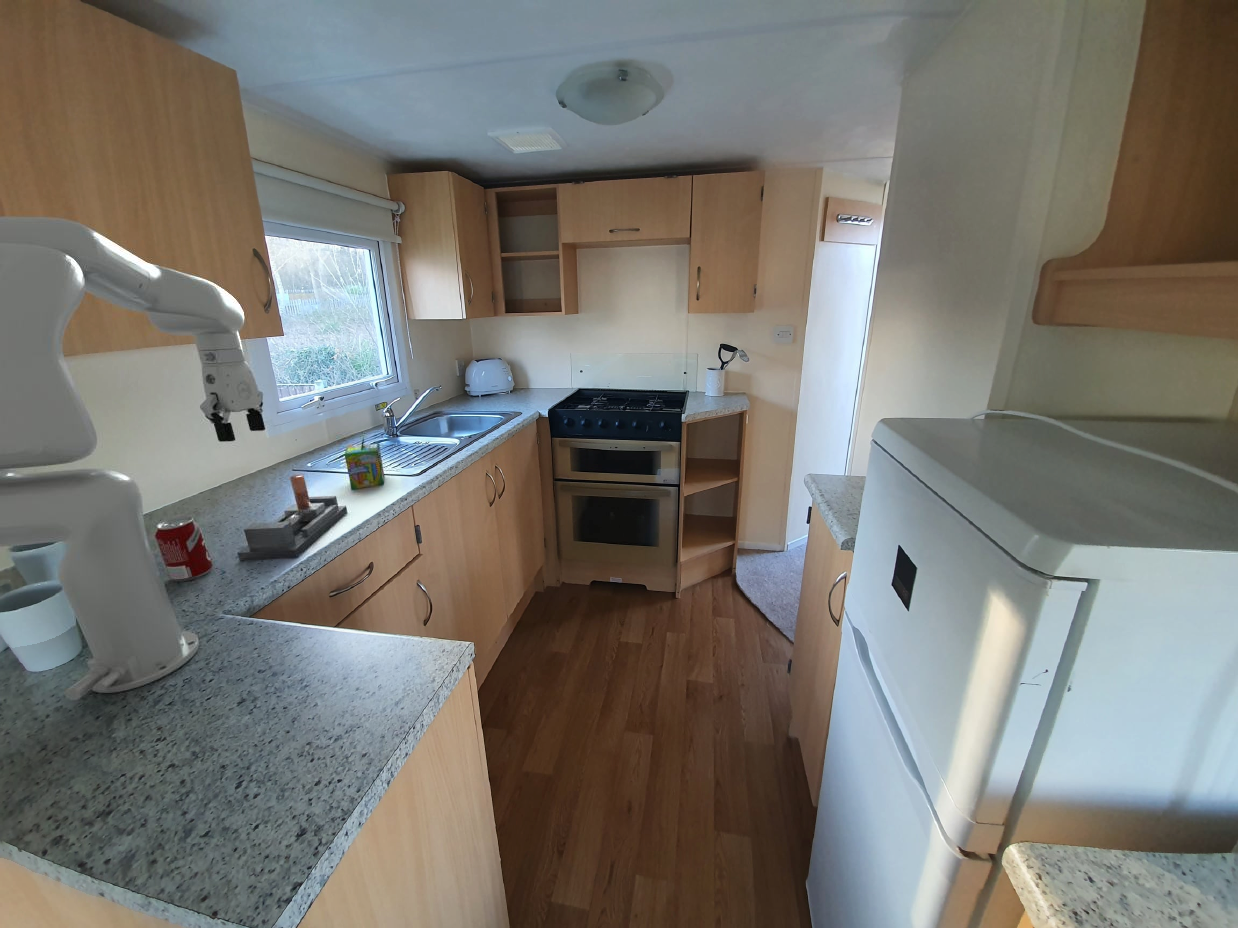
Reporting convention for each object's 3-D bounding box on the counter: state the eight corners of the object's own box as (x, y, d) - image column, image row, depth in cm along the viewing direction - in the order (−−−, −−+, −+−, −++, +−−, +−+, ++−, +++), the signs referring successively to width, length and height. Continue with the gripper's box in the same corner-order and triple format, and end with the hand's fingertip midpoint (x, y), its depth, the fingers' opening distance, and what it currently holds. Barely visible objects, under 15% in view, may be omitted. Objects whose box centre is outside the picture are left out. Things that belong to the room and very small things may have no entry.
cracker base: (296, 558, 105) (289, 529, 103) (239, 560, 105) (230, 531, 102) (347, 512, 128) (342, 488, 126) (300, 514, 127) (294, 490, 125)
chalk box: (353, 480, 152) (344, 435, 147) (385, 476, 155) (377, 431, 151) (350, 490, 144) (340, 442, 139) (384, 485, 147) (375, 439, 142)
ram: (304, 531, 113) (293, 487, 109) (271, 533, 112) (259, 489, 109) (326, 513, 122) (316, 473, 119) (296, 515, 122) (285, 474, 118)
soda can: (189, 585, 96) (170, 531, 92) (162, 582, 97) (142, 528, 93) (222, 567, 102) (205, 516, 98) (196, 565, 103) (179, 514, 100)
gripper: (209, 361, 95) (232, 445, 100) (267, 354, 111) (284, 426, 116) (170, 362, 95) (195, 446, 100) (233, 355, 111) (252, 427, 116)
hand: (243, 435), depth 108 cm, fingers open, 9 cm apart
